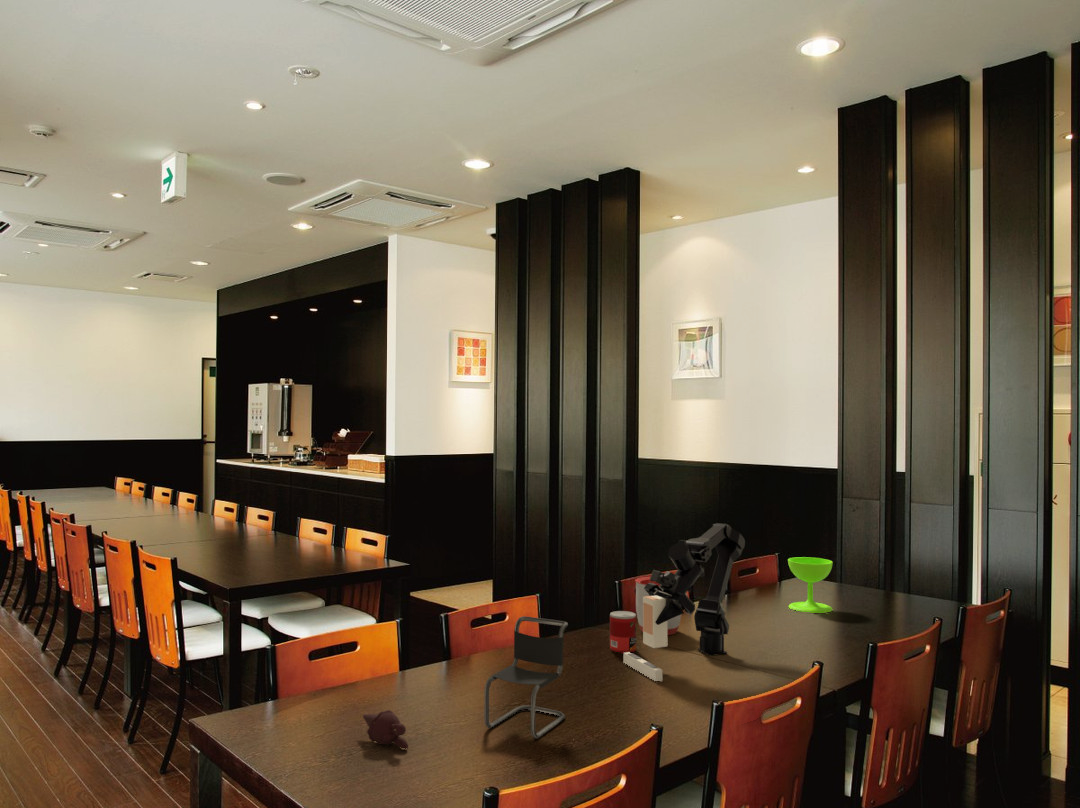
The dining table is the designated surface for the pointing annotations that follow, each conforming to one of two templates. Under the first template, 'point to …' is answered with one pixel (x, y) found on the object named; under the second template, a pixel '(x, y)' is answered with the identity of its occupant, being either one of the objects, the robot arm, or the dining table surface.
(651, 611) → the carton
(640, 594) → the citrus juicer
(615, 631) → the canned food
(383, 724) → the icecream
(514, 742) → the dining table surface
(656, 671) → the rail
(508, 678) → the chair
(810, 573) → the wineglass
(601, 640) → the dining table surface
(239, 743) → the dining table surface
